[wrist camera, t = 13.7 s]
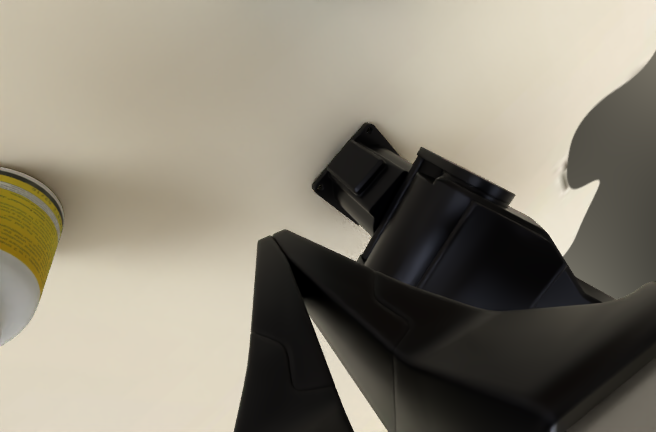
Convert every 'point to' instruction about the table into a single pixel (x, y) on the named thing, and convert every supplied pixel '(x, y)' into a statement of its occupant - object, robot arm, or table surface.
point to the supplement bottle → (25, 247)
